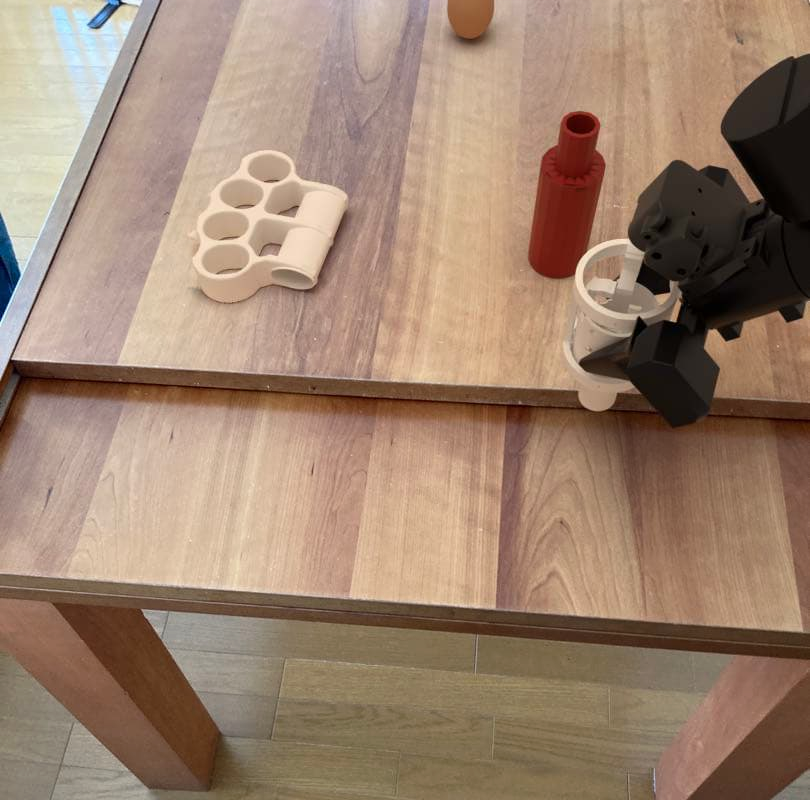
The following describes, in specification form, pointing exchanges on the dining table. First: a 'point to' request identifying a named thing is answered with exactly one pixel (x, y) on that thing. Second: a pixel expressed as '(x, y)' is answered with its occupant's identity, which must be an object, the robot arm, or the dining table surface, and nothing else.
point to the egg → (470, 16)
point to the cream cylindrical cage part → (608, 318)
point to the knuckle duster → (265, 229)
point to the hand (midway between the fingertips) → (594, 329)
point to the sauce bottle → (567, 197)
